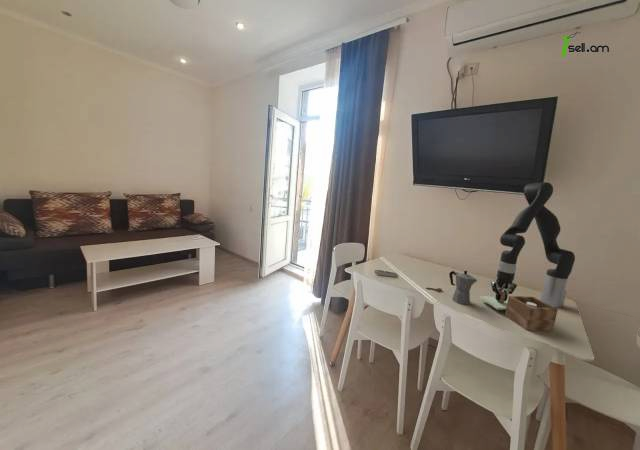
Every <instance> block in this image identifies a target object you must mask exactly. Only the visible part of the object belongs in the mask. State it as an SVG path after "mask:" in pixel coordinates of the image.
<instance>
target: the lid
mask: <svg viewBox="0 0 640 450" xmlns="http://www.w3.org/2000/svg"><path fill="white" fill-rule="evenodd" d="M505 294H506V292H504V291H502V292H501V294H500V295H501V297H500V301H497V300H496V299H495V297H496V296H484V295H481V296H480V295H479V299H481V300H482V301H484V302H485V303H486V304H488V305H490V306H491V307H493V308H495V309H496V310H499V311H501V310H502V311H506V308H507V303H508V299H507V300H506V301H504V299H505Z"/></svg>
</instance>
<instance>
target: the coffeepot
mask: <svg viewBox="0 0 640 450" xmlns="http://www.w3.org/2000/svg"><path fill="white" fill-rule="evenodd" d="M448 275H449V280H450V285H452V286H456V288H455V291H454V293H453V296H452V301H453V302H455V303H457V304H460V305H464V306H465V305H466V306H467V305H470V303H471V295H470V294H471V292H470V291H471V288H472V286H473V285H474V284H475V283H476V282H478V280H477V278H475V277H474V276H472V275H470V274H468V271H467V270H463V273H461V272H460V273H459V272H457V271H455V270H454V271H453V270H452V271H450V272H449V274H448ZM453 275H454V276H455V283H454V279H453Z"/></svg>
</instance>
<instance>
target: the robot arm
mask: <svg viewBox="0 0 640 450" xmlns="http://www.w3.org/2000/svg"><path fill="white" fill-rule="evenodd" d="M553 192H554V187H553V184H552V183H550V182H548V181H547V182H545V181H542V182H533V183H528V184H526V185H525V186H524V188H523V194H524V198H525V200H526V202H527V203H528V206H527V207H525V208H524V209H522V210H521V211H520V212H519V213H518V214H517V215H516V217H515V219H514V220H513V222H512V223H511V225H510V226H509V227H508V228H507V229H506V230H505V231H504V232H503V233H502V235H501V236H500V239H499V242H500V244H501V245H502V246H504V247H509V248H512V249H510V250H503V251H501V255H500V259H499V260H500V261H499V263H498V268H497V274H496V280H495V281H490V286H491V291H492V292H494V293H495V296H494V297H495V299H496V300H497V301H500V297H501V295H500V294H501V292H502V291H504V292H506V294H505V299H504V301H506V300H508V298H509V296H510V295H513V293H514V291H515V290H516V288H517V287H518V285H517V284H516V283H514V280H515V276H516V270H517V261H518V257H519V255H520V253H521V251H522V250H523V247H524V246H525V244H526V240H525V237H524V236H523V235H520V234H525V233H526V232H527V231H528V229H529V227H530V226H531V223H532V222H533V221H534V220H535V223H536V226H537V229H538V232H539V235H540V238H541V241H542V243H543V248H544V253H545V257H546V260H547V261H548V262H549V263H552V264H555V265H556V267H555V268H548V269H547V270H546V274H545V278H544V283H543V288H542V292H541V296H540V297H541V298H540V301H542V302H544V303H546V304H548V305H550V306H552V307H554V308H556V309H559V308H562V307H564V303H565V300H566V295H567V291H566V288H567V283H568V279H569V277H570V275H571V273H572V271H573V267H574V264H575V260H576V256H575V253H574V252H573V251H570V250H567V249H564V248H560V246H559V245H558V242H557V238H558V237H559V235H560V232H561V230H562V229H561V225H560V222H559V219H558V217H557V216H556V215H555V214H554V213H553V212H552V211H551V210H550V209H548V208H547V207H546V206H545V205H546V204H547V202H548V201H549V199H550V198H551V197H552V195H553Z"/></svg>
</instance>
